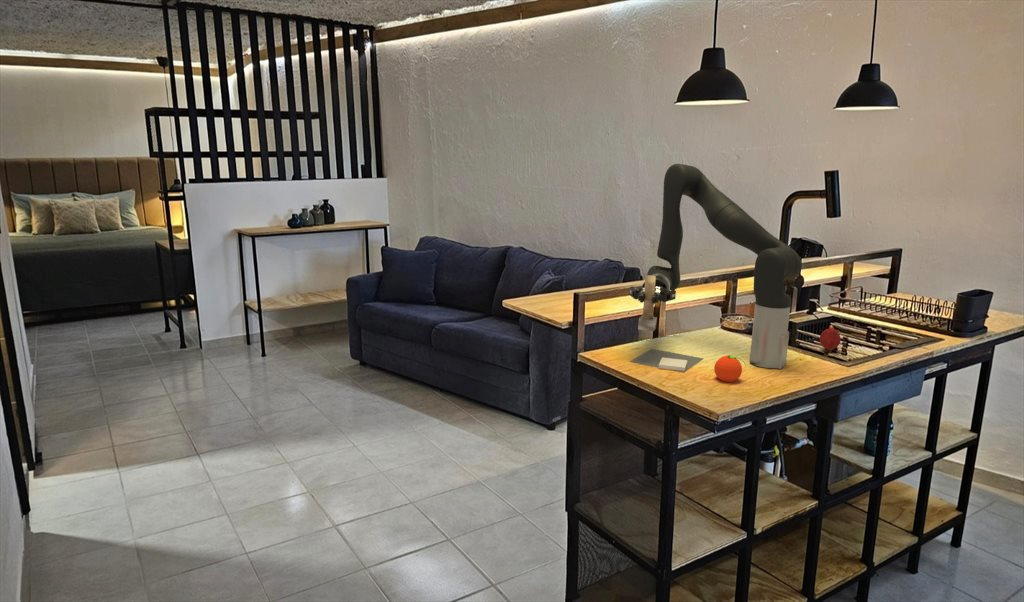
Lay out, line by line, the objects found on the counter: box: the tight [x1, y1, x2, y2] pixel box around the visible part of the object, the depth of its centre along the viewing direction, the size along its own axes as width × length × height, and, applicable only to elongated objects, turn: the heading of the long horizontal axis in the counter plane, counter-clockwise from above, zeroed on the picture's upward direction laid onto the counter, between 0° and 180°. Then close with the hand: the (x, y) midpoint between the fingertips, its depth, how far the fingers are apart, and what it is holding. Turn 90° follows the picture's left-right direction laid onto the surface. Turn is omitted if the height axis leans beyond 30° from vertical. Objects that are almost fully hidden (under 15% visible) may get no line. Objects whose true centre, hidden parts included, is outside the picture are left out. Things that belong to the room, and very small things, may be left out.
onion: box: [819, 325, 842, 351], centre depth 203 cm, size 6×6×8 cm
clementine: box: [713, 355, 746, 383], centre depth 174 cm, size 8×7×7 cm
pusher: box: [637, 275, 658, 332], centre depth 187 cm, size 4×4×15 cm
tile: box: [658, 357, 687, 373], centre depth 185 cm, size 7×1×7 cm
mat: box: [629, 348, 705, 374], centre depth 191 cm, size 16×16×1 cm
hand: (647, 299), depth 184 cm, fingers closed on pusher, 2 cm apart
